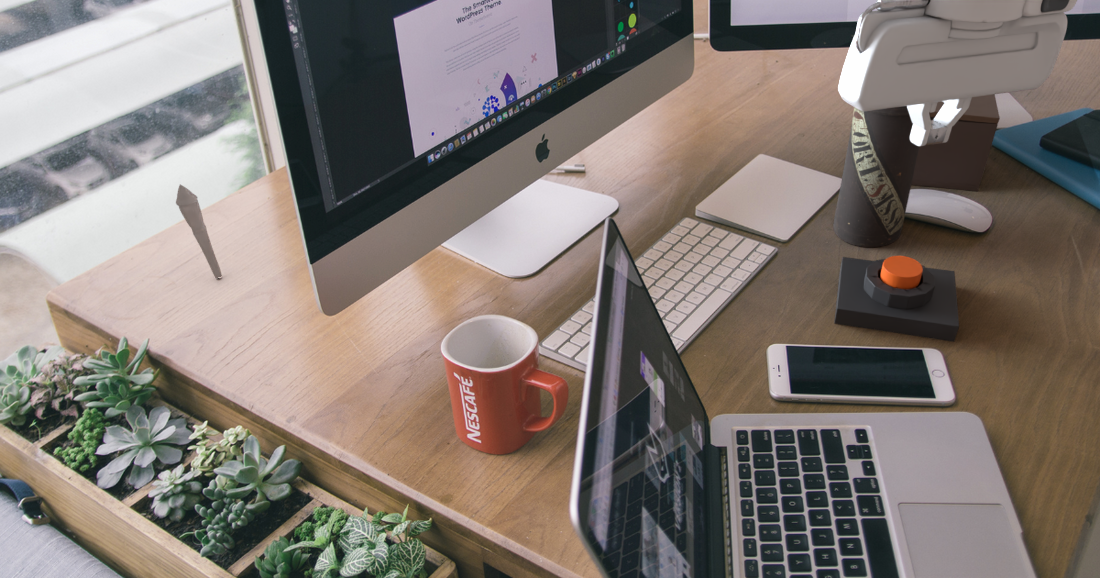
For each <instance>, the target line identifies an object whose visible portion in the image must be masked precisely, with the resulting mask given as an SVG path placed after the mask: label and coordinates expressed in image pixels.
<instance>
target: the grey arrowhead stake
mask: <svg viewBox="0 0 1100 578" xmlns="http://www.w3.org/2000/svg"><path fill="white" fill-rule="evenodd" d="M199 203H200V202H199V200H198V196H197V195H196V194H195V193H193V192H192V191H191V190H190V189H188V188H187V187H186V186H185V185H182V184H179V186H178V189H177V193H176V200H175V204H176V206H178V209H179V211H180V213H181V215H182V216H183V218H184V220H185V222H186V223H187V225H188V227H190V228H191V231H192V235H193V237H194V238H195V240H196V241H197V243H198V245H199V247H200V250H201V251H202V253H203V255H204V257H205V259H206V261H207V263H208V266H209V268H210V270H211V273H212V275H213V276H214V277H215V279H216V278H218V277H221V276H222V277H223V274H222V272H221V267H220V265H219V262H218V259H217V257H216V254H215V251H214V249H213V246H212V243H211V240H210V236H209V232H208V230H207V226H206V224H205V221H204V218H203V213H202V210H201V206H200V204H199Z"/></svg>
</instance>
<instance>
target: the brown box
mask: <svg viewBox="0 0 1100 578" xmlns="http://www.w3.org/2000/svg"><path fill="white" fill-rule="evenodd" d="M934 118H935V117H930V120H934ZM998 125H999V123H998V124H995V123H985V122H975V121H965V120H958V121H957V122H956V123H955V125H954V126H952V129H951V132H950V135H949V139H948V141H947V142H945V143H939V144H931V145H925V146H919V150H918V155H917V160H916V165H915V169H914V174H913V179H912V183H911V186H919V187H929V188H938V189H950V190H958V191H969V192H979V189H980V186H981V183H982V180H983V176H984V173H985V168H986V166H987V162H988V159H989V155H990V152H991V148H992V145H993V142H994V139H995V137H996V132H997V128H998Z"/></svg>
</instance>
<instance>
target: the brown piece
mask: <svg viewBox="0 0 1100 578" xmlns="http://www.w3.org/2000/svg"><path fill="white" fill-rule="evenodd" d="M943 105H944V102H942V101H940V102H938V103H937V106H936V110H935V112H932V113H930V112H929V115H930V117H936V115H937V114H938V112H939V111H940V109H941V108H942V106H943ZM959 120H965V121H975V122H985V123H995V124H998V125H999V122H1000V113H999V108H998V103H997V99H996V94H993V95H986V96H978V97H972V99H971V102H970V105H969V108H968V109H967V110H966V112H965V113H964V114H963V115H962V116H961V118H960V119H959Z"/></svg>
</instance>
